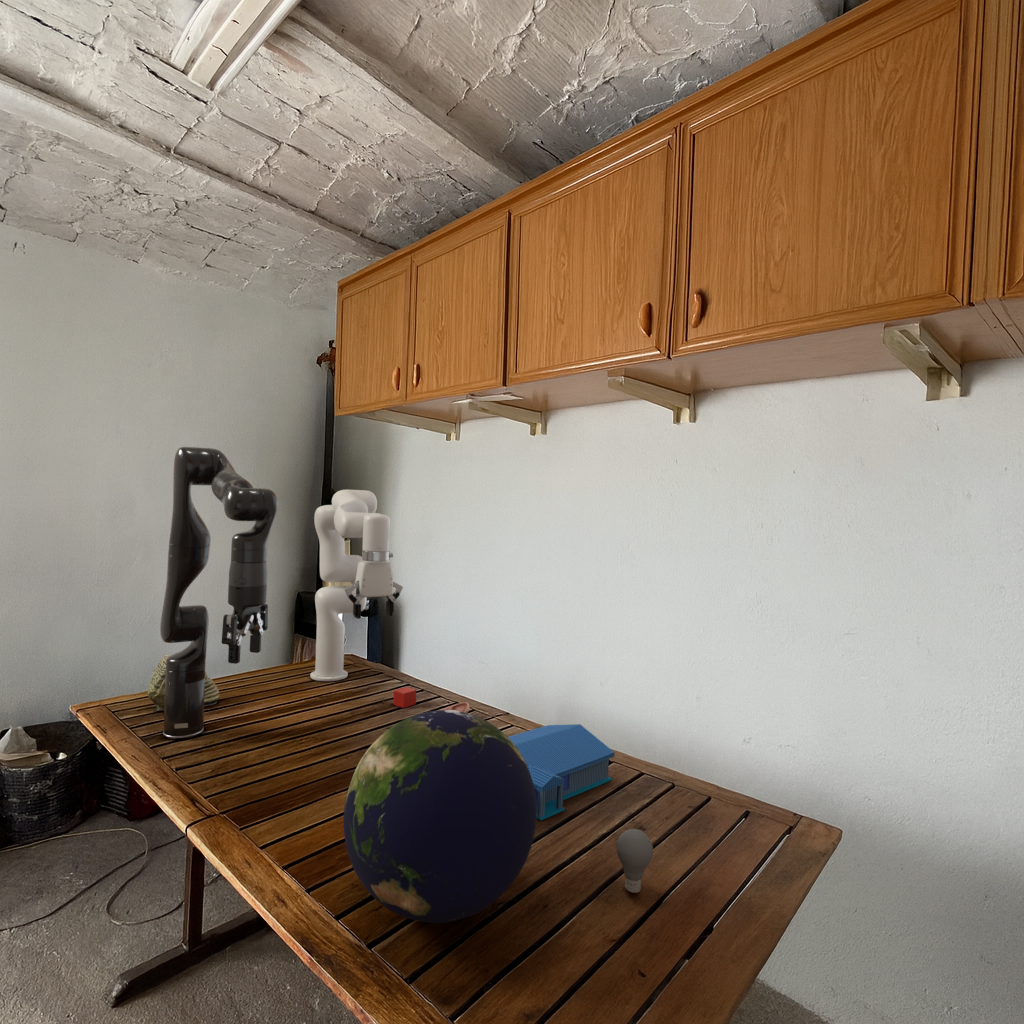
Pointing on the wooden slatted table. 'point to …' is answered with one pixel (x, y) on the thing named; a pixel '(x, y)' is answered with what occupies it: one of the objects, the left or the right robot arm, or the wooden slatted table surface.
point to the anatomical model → (459, 707)
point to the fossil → (158, 687)
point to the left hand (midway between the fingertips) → (244, 657)
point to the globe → (440, 816)
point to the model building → (562, 763)
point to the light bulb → (634, 857)
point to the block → (404, 697)
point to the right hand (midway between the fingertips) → (373, 616)
